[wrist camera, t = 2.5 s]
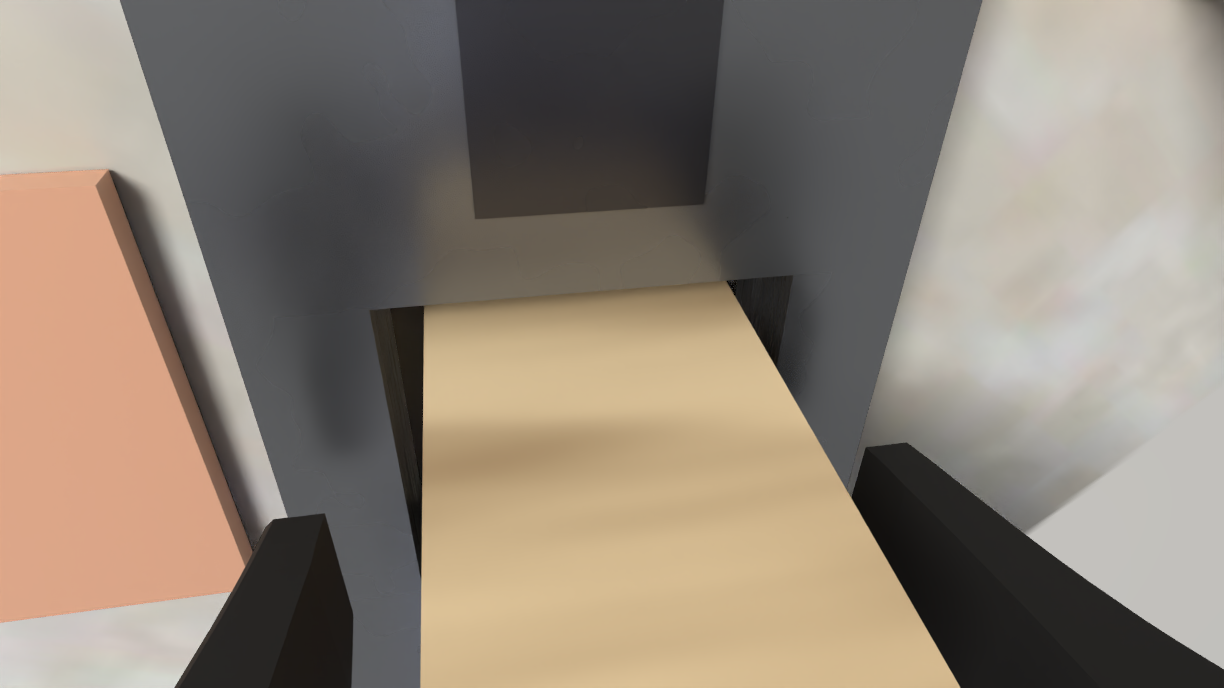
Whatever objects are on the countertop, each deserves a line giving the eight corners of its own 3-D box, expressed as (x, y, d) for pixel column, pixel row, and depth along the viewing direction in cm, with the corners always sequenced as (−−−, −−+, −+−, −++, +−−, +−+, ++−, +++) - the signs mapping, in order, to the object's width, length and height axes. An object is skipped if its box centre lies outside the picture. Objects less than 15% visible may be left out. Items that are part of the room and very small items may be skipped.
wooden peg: (684, 446, 15) (867, 932, 9) (452, 472, 14) (471, 1023, 8) (705, 245, 13) (983, 728, 6) (424, 265, 12) (419, 833, 6)
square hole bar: (760, 614, 19) (791, 695, 17) (373, 673, 18) (367, 768, 16) (932, -190, 10) (1038, -182, 8) (128, -206, 8) (51, -198, 6)
